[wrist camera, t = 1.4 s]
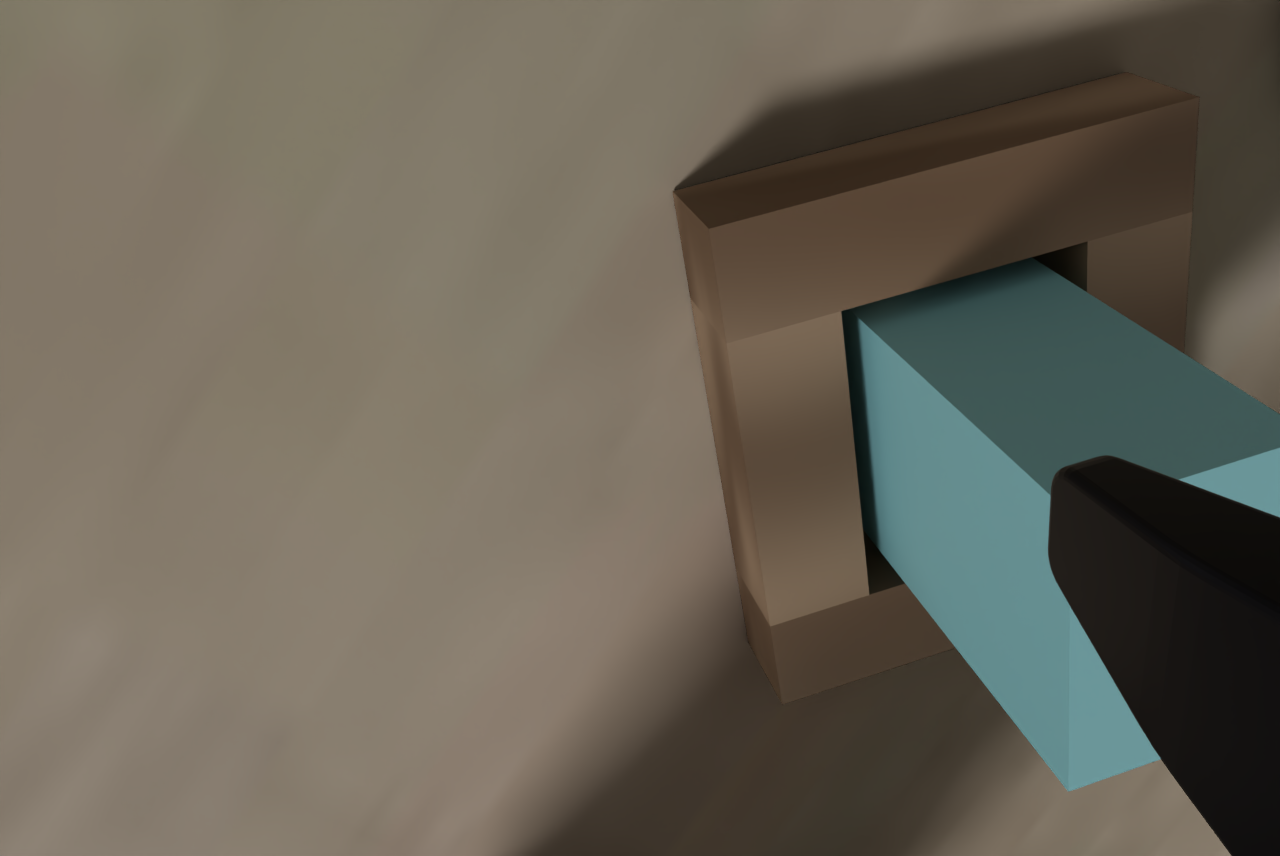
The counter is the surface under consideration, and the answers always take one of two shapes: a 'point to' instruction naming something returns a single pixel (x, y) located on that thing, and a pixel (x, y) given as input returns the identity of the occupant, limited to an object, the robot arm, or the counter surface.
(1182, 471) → the plug
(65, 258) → the counter surface
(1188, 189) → the brown flat piece
